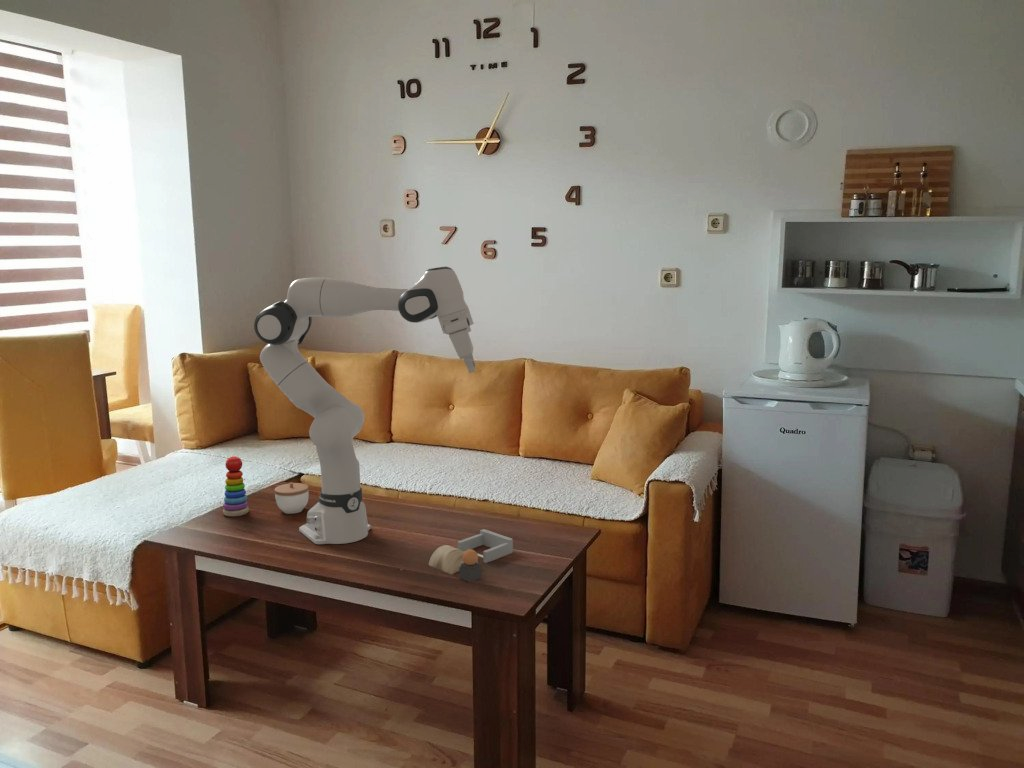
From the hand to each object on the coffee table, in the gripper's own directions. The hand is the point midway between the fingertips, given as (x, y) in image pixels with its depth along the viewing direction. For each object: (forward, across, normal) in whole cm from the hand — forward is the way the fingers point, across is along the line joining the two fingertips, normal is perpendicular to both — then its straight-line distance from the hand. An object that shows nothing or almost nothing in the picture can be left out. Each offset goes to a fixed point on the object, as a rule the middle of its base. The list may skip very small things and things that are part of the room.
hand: (472, 370), depth 220 cm
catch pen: (+49, +7, -12) cm, 51 cm away
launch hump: (+52, +15, -23) cm, 59 cm away
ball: (+43, +25, -15) cm, 51 cm away
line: (+48, +9, -14) cm, 51 cm away
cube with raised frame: (+48, +24, -16) cm, 56 cm away
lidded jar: (+29, -33, -72) cm, 84 cm away
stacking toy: (+23, -31, -89) cm, 97 cm away
